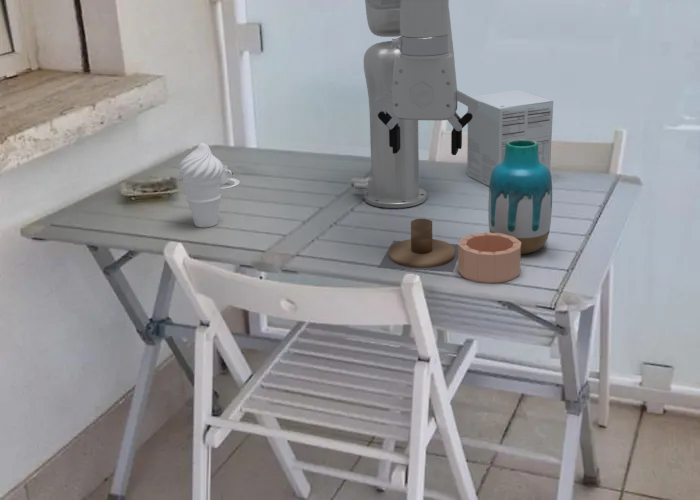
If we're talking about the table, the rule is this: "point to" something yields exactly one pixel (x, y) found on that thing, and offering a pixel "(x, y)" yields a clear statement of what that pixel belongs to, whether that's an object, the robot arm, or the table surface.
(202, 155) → the soft serve ice cream cone
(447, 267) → the mat
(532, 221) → the vase
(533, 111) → the supplement box
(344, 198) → the table surface
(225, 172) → the teacup and saucer
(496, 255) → the bowl
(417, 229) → the lid
